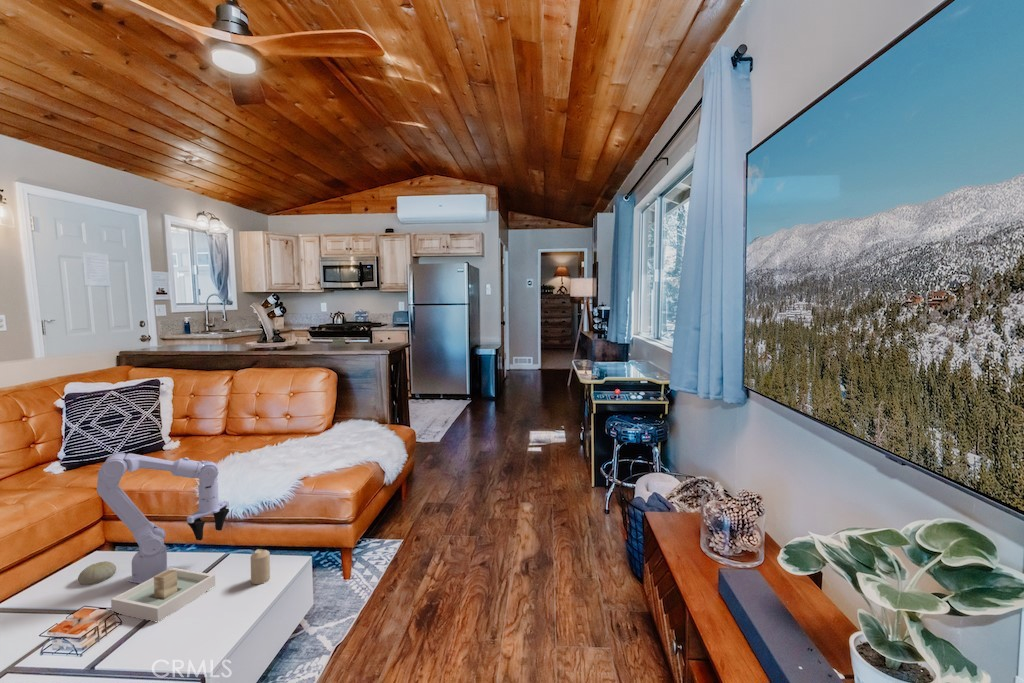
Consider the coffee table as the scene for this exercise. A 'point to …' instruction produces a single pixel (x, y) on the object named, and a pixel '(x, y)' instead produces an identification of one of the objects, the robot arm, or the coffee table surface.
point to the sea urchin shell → (97, 573)
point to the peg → (165, 584)
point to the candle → (260, 566)
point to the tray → (149, 608)
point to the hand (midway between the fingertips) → (209, 534)
